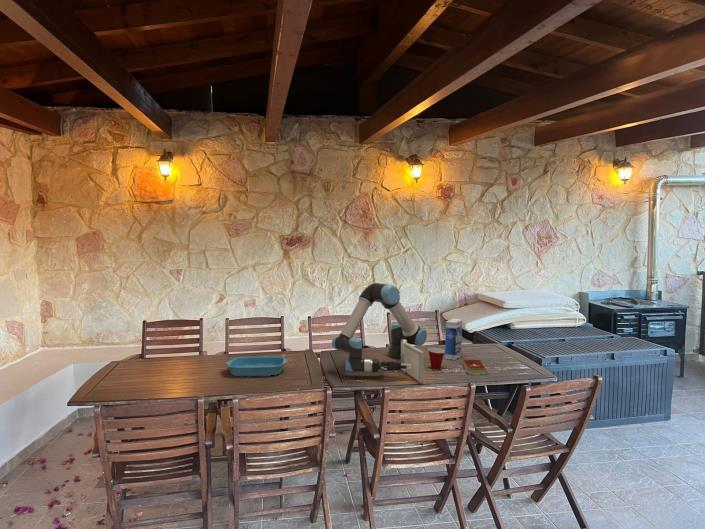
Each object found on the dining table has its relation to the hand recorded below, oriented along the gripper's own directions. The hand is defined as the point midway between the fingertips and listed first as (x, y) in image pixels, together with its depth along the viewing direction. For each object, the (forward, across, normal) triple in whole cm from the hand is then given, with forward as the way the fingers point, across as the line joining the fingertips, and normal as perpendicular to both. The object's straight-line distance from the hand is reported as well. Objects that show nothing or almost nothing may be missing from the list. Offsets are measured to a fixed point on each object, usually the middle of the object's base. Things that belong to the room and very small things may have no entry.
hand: (412, 366), depth 275 cm
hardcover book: (+40, -22, -8) cm, 46 cm away
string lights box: (+31, -48, -7) cm, 58 cm away
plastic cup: (+17, -22, -7) cm, 29 cm away
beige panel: (+1, -1, -6) cm, 6 cm away
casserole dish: (-93, -6, -8) cm, 94 cm away
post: (-4, -14, -7) cm, 17 cm away
